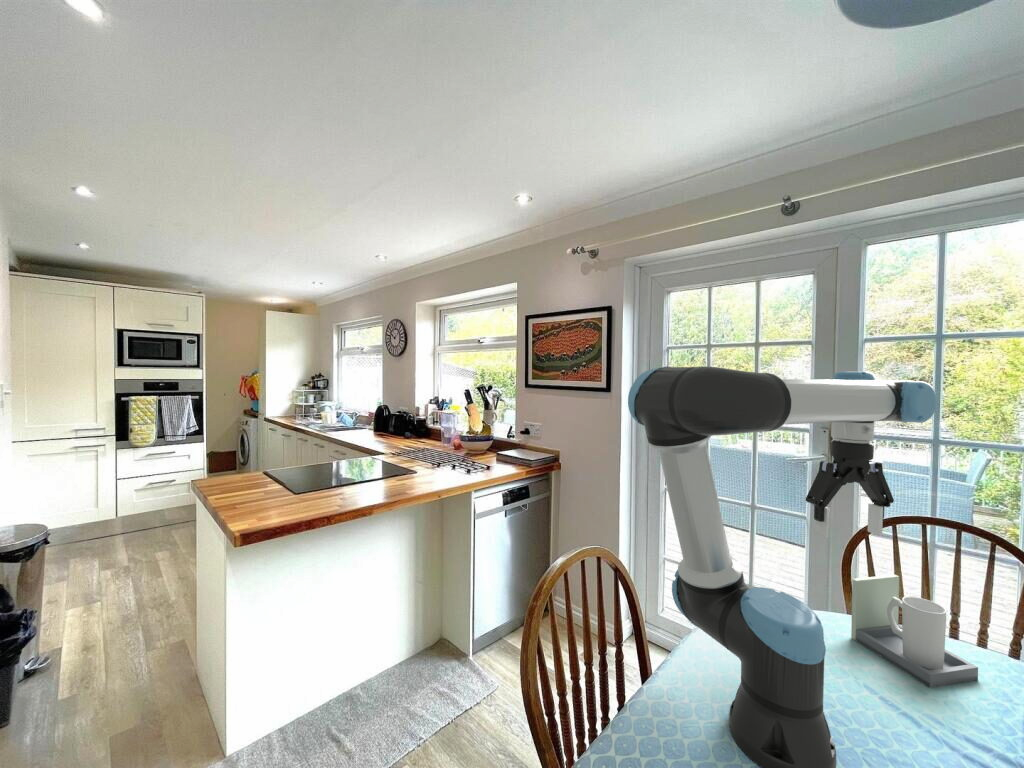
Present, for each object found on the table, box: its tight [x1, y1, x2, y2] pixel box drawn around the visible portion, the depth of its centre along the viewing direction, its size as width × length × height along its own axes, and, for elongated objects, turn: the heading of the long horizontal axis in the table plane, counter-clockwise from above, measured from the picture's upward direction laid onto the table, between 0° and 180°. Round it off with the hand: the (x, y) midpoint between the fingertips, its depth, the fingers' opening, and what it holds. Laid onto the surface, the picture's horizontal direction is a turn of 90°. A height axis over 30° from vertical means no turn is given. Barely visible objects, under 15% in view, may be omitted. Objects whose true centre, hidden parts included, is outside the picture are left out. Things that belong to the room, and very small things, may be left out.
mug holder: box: [850, 574, 979, 689], centre depth 92 cm, size 12×16×14 cm
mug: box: [887, 595, 948, 670], centre depth 91 cm, size 10×7×12 cm, turn 16°
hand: (848, 534), depth 95 cm, fingers open, 13 cm apart
